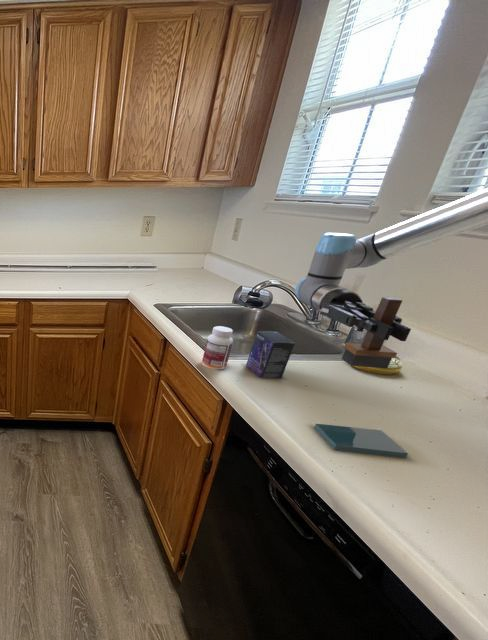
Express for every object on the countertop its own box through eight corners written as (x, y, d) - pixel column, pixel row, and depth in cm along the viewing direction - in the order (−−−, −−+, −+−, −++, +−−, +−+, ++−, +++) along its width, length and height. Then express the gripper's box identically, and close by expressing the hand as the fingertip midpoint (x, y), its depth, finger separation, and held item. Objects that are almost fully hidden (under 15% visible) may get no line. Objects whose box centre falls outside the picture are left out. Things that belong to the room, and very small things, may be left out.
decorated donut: (343, 358, 122) (348, 346, 120) (390, 365, 118) (395, 352, 116) (353, 372, 113) (358, 359, 112) (404, 379, 109) (410, 366, 107)
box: (244, 366, 116) (256, 330, 111) (265, 367, 116) (277, 330, 111) (260, 379, 109) (273, 341, 104) (282, 380, 109) (296, 341, 104)
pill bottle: (212, 360, 120) (222, 324, 115) (230, 369, 115) (241, 331, 110) (196, 363, 118) (205, 326, 113) (213, 372, 113) (224, 333, 108)
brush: (376, 361, 95) (406, 296, 89) (389, 369, 91) (421, 302, 84) (339, 358, 97) (365, 294, 90) (350, 366, 92) (378, 300, 86)
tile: (378, 436, 85) (381, 430, 85) (405, 459, 78) (408, 453, 78) (313, 429, 88) (315, 423, 87) (333, 451, 81) (336, 445, 80)
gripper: (365, 319, 106) (433, 354, 85) (297, 315, 109) (347, 348, 88) (377, 290, 103) (451, 319, 82) (307, 286, 105) (361, 314, 85)
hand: (397, 334), depth 85 cm, fingers closed on brush, 2 cm apart
